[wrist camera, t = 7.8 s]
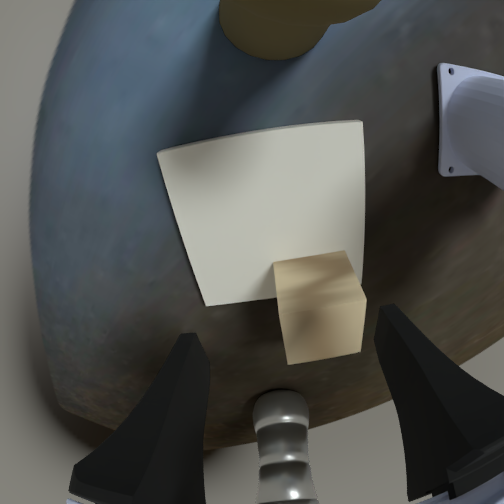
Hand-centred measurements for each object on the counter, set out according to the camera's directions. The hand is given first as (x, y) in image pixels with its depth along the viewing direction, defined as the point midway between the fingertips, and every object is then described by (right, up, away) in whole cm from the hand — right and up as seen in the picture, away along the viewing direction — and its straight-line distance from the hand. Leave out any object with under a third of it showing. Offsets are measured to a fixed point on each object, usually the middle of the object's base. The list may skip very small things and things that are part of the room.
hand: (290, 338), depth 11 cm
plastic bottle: (+2, -14, +21) cm, 25 cm away
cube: (+3, +1, +10) cm, 11 cm away
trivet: (0, +5, +8) cm, 10 cm away
